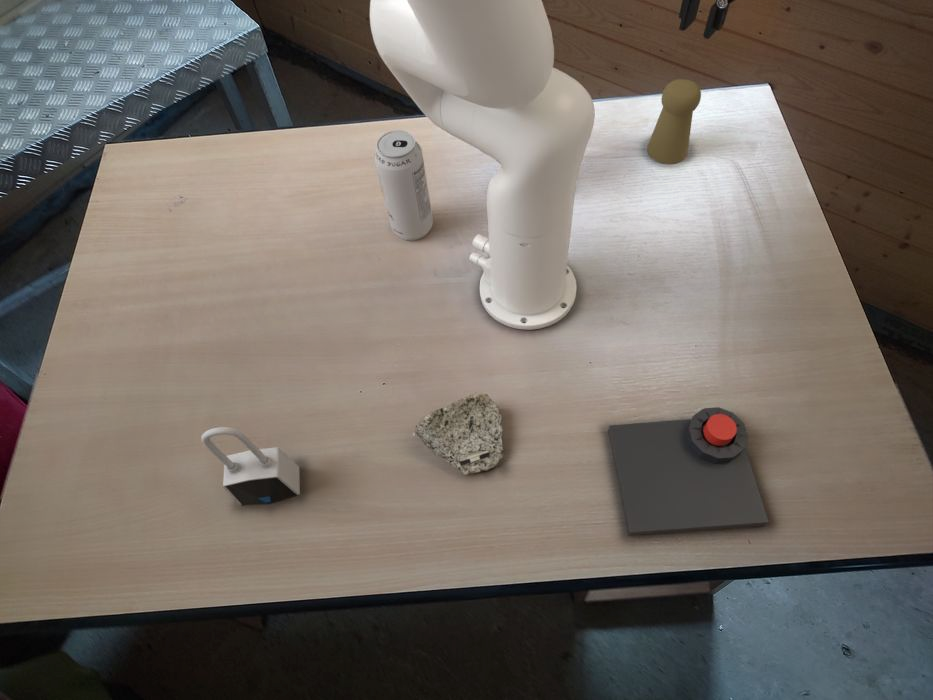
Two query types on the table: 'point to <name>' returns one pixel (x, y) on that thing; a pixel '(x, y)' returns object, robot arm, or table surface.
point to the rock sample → (465, 433)
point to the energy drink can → (404, 184)
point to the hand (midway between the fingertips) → (699, 27)
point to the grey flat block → (684, 477)
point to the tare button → (719, 430)
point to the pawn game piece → (674, 122)
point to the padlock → (255, 471)
